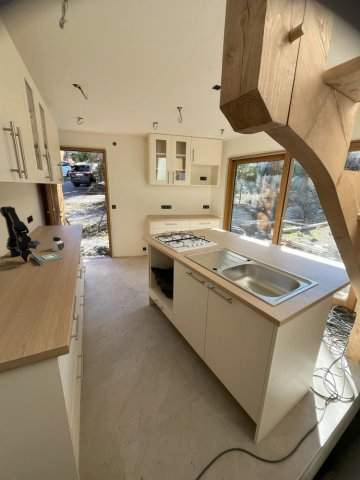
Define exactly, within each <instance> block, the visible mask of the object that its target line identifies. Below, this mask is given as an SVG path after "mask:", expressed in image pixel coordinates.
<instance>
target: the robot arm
mask: <svg viewBox="0 0 360 480" xmlns="http://www.w3.org/2000/svg"><path fill="white" fill-rule="evenodd" d="M0 214H1V216H2V217H3V218H4V220H5V224H6V225H5V226H6V229H7V234H8V237H7V240H6V247H5V248H6V249H7V251H9V253H10V254H9V257H10V258H15V257H20V258H21V257H22V258H23V260H24V261H25V262H24V263H27V259H28V257H29V256H30V255H31V254H32V252H33V251H32V250H33V249H34V250H36V249H37V248H38V247H37V246H38V244H36V243H34V242H33V241H32V237H30V236H29V235H28V234H30V230H29V228H28V226H27V225H26V224H25V222H24V221H22V220H20V218H19V216H18V214H17V212H16V209H15V207H13V206H9V205H8V206H1V207H0ZM31 249H32V250H31Z"/></svg>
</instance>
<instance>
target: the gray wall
mask: <svg viewBox="0 0 360 480" xmlns="http://www.w3.org/2000/svg"><path fill="white" fill-rule="evenodd" d="M30 256H31V258H32V260H34V261H35V262H36V263H37V264H40V265H39V266H43V265H44V262H43V263H42V259H40V258H39V257H38V256H39V255H37V254H36V253H35V252H33V251H32V254H30Z"/></svg>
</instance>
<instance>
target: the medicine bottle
mask: <svg viewBox="0 0 360 480" xmlns="http://www.w3.org/2000/svg"><path fill="white" fill-rule="evenodd" d="M52 241H53V242H50V247H51V251H54V252H60V251H62V250H65V244H64V243H65V242H64V241H62V239H61V236H54V237H52Z"/></svg>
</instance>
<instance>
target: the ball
mask: <svg viewBox="0 0 360 480" xmlns="http://www.w3.org/2000/svg"><path fill="white" fill-rule="evenodd" d="M29 260H30V258H29V256H28V259H27V262H29ZM20 261H21V262H22V263H27V262H25V261H24V260H23V258H22V257H21V256H20Z"/></svg>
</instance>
